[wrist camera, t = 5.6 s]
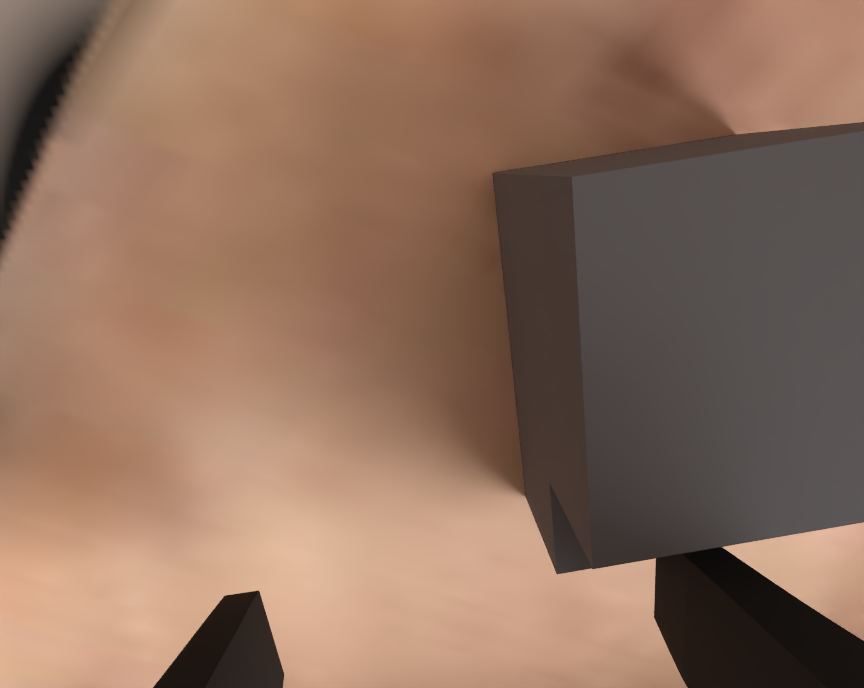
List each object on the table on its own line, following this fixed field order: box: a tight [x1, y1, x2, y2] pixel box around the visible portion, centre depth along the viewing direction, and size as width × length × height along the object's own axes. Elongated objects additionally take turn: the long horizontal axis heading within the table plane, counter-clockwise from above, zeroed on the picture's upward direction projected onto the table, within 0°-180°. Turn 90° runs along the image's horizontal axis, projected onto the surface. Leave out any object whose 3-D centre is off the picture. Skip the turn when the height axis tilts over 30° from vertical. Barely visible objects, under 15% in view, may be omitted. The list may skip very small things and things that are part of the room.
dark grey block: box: [493, 122, 864, 574], centre depth 8 cm, size 4×7×4 cm, turn 8°
